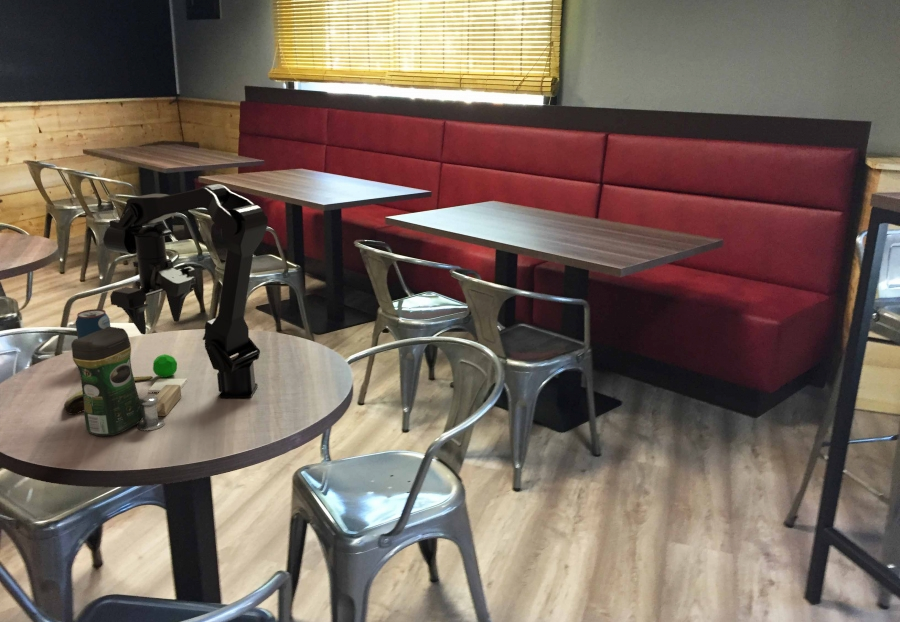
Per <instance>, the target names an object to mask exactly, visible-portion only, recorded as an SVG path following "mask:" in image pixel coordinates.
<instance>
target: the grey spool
mask: <svg viewBox="0 0 900 622" xmlns="http://www.w3.org/2000/svg"><path fill="white" fill-rule="evenodd" d="M157 402H158V397H157V396H156V395H145V396H143V397H139V400H138V404H139V405H140V406H141V408H142V416H143V418H142V420H141V421H140V422H138V423H137V424H136V426H137V429H138V430H139V429H140V431H143V430H144V432H145V430H147V432H148V430H150V431H155V430H159V429H160V428H162V427H164V425H165V424H166V421H165V420H164V419H162V418H159V416H158V414H157V406H156V403H157Z"/></svg>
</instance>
